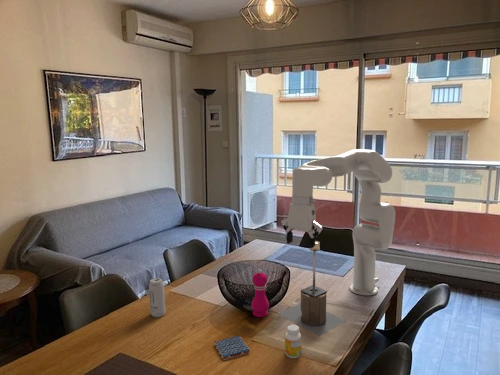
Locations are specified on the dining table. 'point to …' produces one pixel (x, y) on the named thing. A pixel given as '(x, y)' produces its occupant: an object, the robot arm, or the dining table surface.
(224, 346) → the woven mat
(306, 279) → the dining table surface
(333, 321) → the slate board
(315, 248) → the plunger
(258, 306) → the pepper mill
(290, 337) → the supplement bottle
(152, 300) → the energy drink can
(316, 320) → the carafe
